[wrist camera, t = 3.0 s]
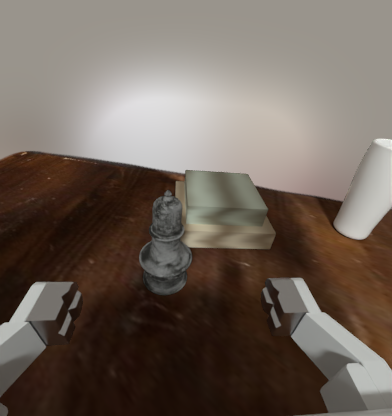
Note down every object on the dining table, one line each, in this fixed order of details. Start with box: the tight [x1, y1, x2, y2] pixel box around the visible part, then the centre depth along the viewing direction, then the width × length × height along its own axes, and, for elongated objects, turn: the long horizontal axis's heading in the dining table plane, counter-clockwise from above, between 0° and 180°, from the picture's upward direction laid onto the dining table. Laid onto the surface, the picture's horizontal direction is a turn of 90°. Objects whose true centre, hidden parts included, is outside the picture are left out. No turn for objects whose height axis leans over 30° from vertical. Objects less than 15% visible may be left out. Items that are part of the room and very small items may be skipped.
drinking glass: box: [333, 139, 392, 240], centre depth 35 cm, size 7×7×15 cm
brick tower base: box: [175, 170, 276, 249], centre depth 36 cm, size 14×14×6 cm
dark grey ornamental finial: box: [139, 190, 192, 295], centre depth 24 cm, size 6×6×12 cm
